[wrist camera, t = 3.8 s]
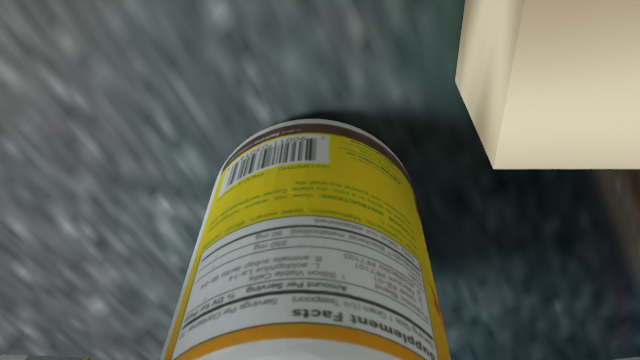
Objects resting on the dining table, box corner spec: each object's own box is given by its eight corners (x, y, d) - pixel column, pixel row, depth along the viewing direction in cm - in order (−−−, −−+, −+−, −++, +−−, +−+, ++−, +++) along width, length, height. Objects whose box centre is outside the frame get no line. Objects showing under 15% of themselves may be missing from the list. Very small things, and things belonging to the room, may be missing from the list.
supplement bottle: (344, 294, 18) (353, 736, 9) (185, 220, 16) (22, 668, 8) (456, 170, 15) (609, 632, 7) (277, 68, 14) (181, 499, 5)
